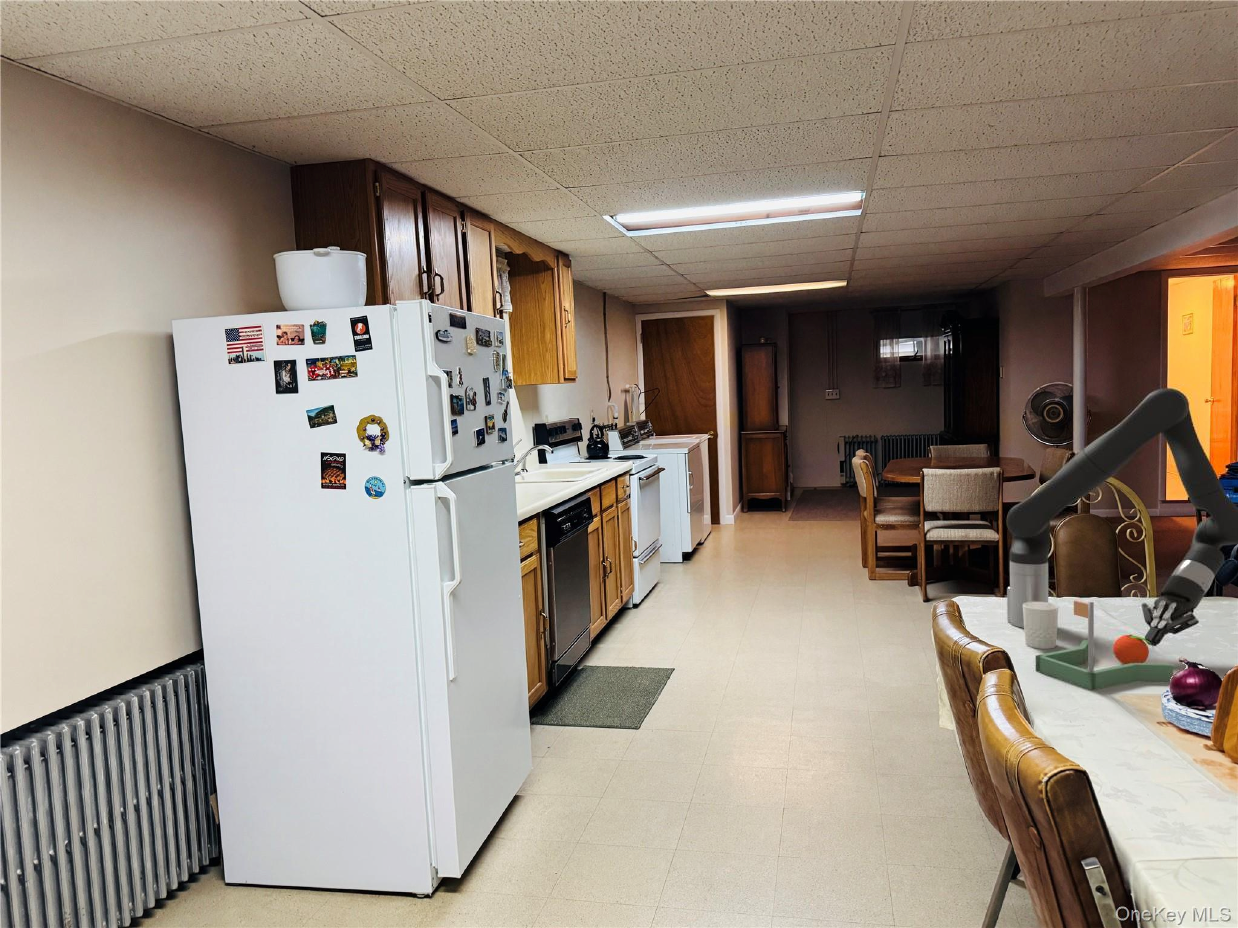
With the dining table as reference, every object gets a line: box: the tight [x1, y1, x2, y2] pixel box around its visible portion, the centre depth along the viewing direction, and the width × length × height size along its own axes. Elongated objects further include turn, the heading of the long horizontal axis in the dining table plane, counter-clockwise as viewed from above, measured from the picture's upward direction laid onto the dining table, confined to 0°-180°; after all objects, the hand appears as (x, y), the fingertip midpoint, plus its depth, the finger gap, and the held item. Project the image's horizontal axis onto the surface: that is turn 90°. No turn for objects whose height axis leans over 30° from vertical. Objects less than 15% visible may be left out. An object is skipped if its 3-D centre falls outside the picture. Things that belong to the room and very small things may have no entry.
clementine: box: [1112, 634, 1155, 665], centre depth 189 cm, size 8×7×7 cm
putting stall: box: [1035, 600, 1174, 691], centre depth 185 cm, size 22×20×18 cm
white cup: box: [1023, 602, 1059, 650], centre depth 207 cm, size 8×8×10 cm
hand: (1149, 643), depth 191 cm, fingers closed
